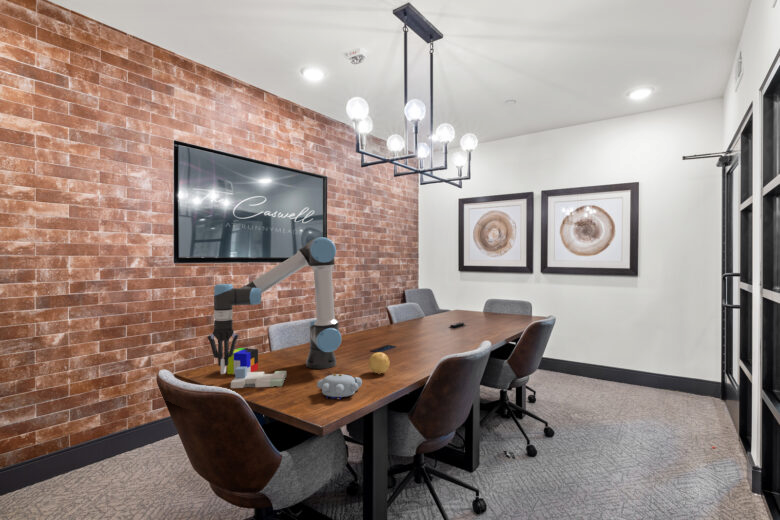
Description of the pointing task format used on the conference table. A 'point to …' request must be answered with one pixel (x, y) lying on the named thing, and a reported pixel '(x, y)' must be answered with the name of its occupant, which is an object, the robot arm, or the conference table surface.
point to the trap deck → (260, 380)
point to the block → (240, 372)
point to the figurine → (339, 385)
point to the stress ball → (379, 362)
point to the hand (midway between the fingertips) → (223, 373)
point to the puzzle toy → (243, 360)
